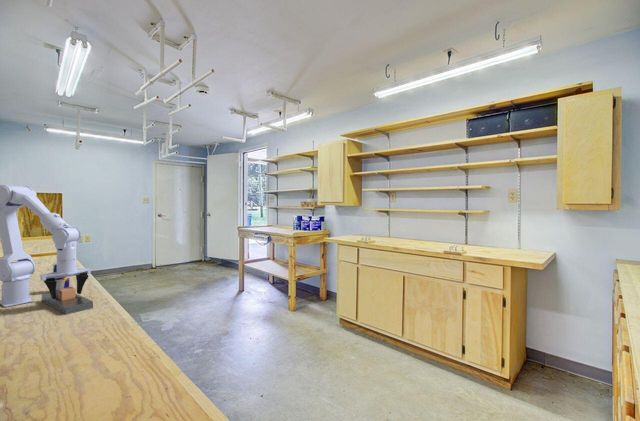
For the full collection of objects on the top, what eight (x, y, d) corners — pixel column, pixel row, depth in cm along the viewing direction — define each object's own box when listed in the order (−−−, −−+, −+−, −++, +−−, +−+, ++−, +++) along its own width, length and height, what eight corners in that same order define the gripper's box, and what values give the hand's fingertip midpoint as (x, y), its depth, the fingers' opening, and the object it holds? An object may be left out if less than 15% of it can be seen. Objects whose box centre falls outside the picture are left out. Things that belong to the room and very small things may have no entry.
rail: (41, 301, 118) (41, 294, 118) (67, 296, 124) (67, 289, 124) (65, 314, 105) (65, 307, 105) (93, 308, 111) (93, 301, 111)
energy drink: (59, 293, 127) (59, 264, 127) (49, 292, 129) (49, 264, 128) (72, 290, 133) (72, 262, 132) (62, 289, 134) (62, 261, 134)
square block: (58, 305, 114) (58, 289, 114) (71, 302, 117) (71, 286, 117) (62, 307, 112) (62, 290, 112) (75, 304, 115) (75, 288, 115)
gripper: (45, 264, 106) (45, 303, 106) (94, 258, 118) (93, 293, 118) (38, 261, 110) (38, 299, 110) (86, 256, 122) (86, 290, 122)
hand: (66, 295), depth 114 cm, fingers open, 7 cm apart
